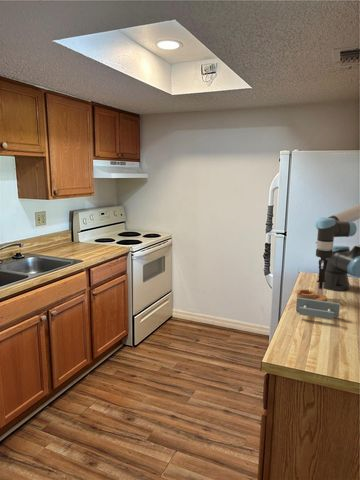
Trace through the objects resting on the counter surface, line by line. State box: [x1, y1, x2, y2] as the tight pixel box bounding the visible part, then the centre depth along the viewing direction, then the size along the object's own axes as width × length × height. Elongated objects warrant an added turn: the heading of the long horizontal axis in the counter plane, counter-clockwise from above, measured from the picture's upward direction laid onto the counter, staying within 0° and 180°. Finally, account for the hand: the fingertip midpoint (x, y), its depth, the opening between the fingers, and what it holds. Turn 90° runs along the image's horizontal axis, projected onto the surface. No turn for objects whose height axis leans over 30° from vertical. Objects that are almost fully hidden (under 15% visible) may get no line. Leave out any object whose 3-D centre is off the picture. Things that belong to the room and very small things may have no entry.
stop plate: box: [295, 296, 341, 321], centre depth 159 cm, size 9×18×6 cm, turn 65°
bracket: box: [296, 288, 328, 303], centre depth 176 cm, size 18×8×7 cm, turn 125°
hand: (320, 294), depth 184 cm, fingers closed
